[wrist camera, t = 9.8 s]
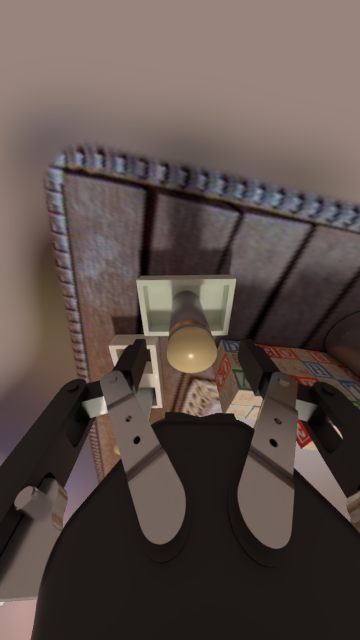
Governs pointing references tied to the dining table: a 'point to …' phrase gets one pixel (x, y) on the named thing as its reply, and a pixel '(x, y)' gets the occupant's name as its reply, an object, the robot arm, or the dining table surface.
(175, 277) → the parts tray
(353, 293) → the dining table surface
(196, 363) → the cylinder
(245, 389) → the stack of blocks
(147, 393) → the fuse
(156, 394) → the tray
